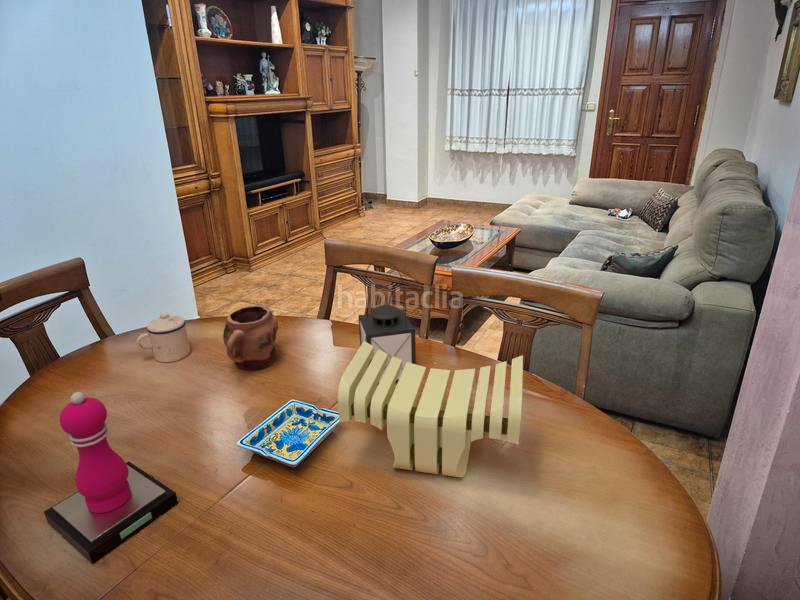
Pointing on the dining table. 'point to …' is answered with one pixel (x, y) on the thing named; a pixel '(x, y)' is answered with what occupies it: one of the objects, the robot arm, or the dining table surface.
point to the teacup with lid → (167, 338)
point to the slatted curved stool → (429, 409)
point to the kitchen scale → (111, 516)
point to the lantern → (389, 332)
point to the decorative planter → (251, 337)
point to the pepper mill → (95, 455)
